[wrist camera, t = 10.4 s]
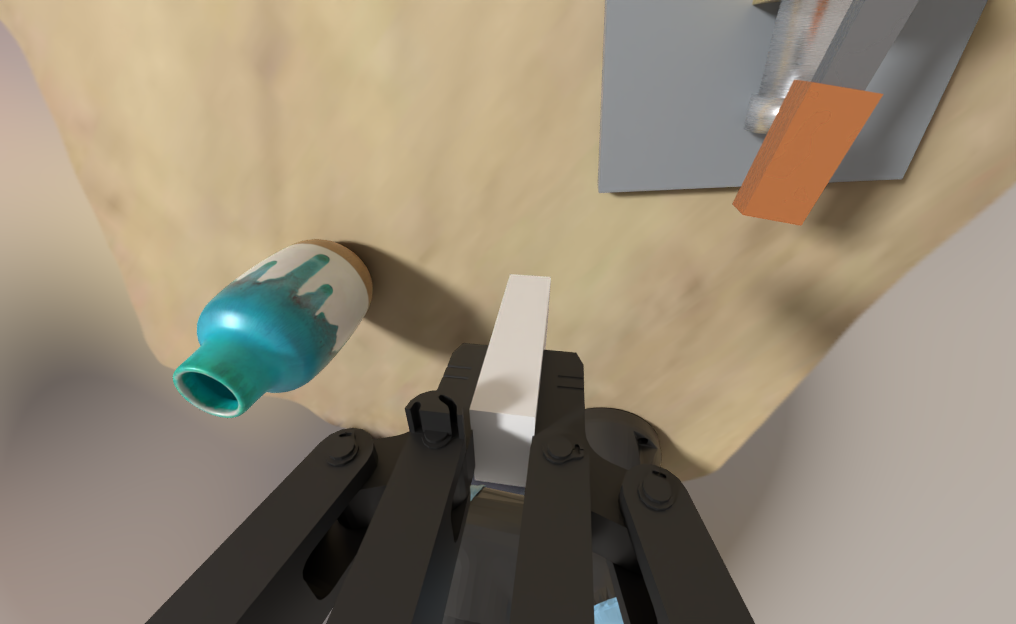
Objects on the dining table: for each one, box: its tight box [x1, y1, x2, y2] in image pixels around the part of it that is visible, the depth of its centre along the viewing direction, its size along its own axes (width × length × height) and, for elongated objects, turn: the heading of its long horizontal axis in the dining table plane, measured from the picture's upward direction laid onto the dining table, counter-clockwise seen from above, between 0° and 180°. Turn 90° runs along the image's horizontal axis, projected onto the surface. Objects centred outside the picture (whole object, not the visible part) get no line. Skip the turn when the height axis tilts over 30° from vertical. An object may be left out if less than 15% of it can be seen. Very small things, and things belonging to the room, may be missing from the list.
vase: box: [173, 239, 373, 418], centre depth 35 cm, size 11×11×19 cm
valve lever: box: [733, 0, 919, 225], centre depth 17 cm, size 4×16×2 cm, turn 172°
